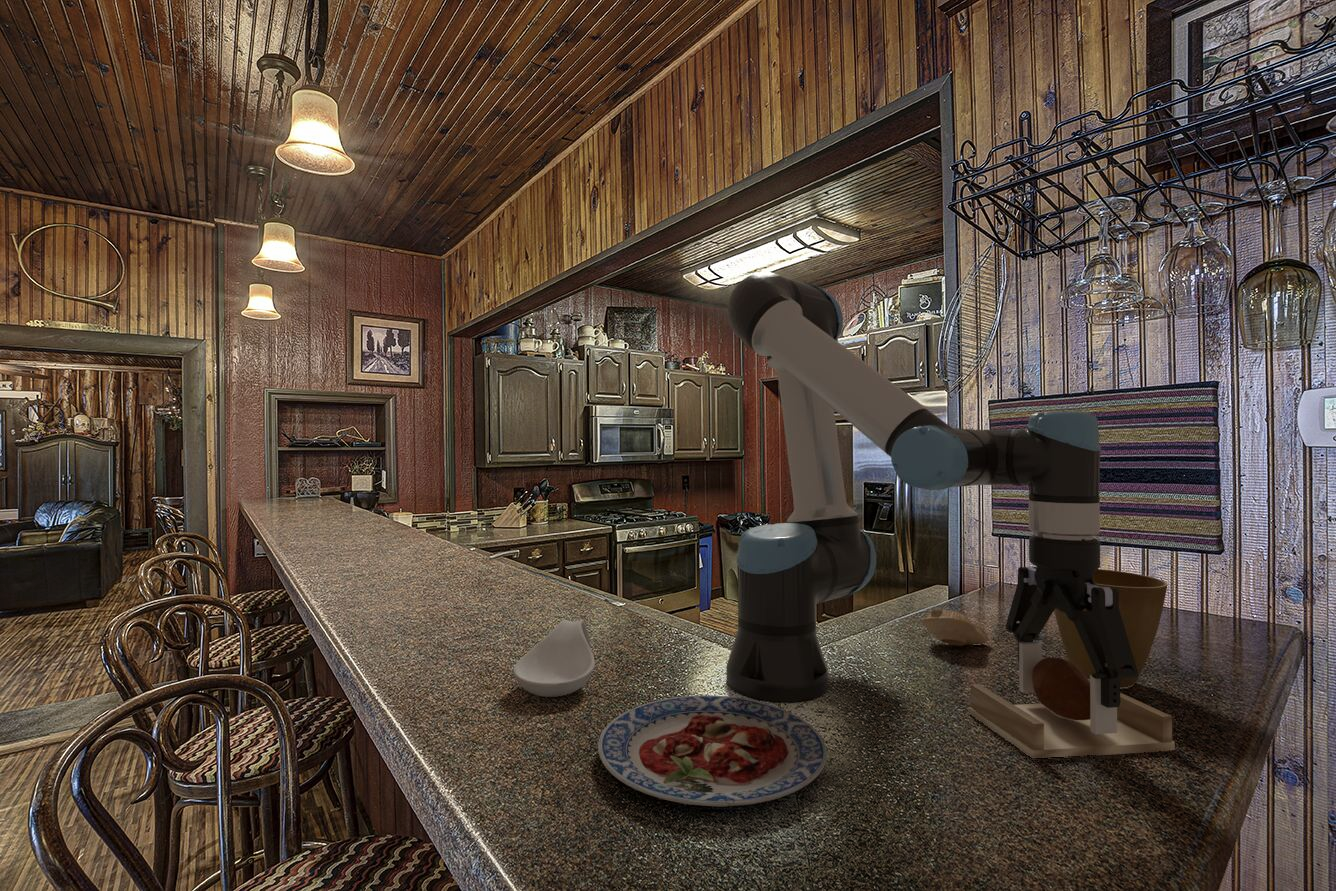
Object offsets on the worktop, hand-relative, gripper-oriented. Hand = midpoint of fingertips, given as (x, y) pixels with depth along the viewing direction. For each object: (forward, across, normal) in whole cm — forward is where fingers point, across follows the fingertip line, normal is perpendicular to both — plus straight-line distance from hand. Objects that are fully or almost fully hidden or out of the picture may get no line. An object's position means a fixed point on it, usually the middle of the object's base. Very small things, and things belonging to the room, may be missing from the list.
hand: (1064, 710), depth 77 cm
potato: (0, 0, 0) cm, 0 cm away
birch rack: (+3, 0, 0) cm, 3 cm away
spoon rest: (+3, +27, +63) cm, 69 cm away
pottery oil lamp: (+3, +33, -6) cm, 33 cm away
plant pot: (+3, +15, -19) cm, 24 cm away
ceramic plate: (+3, -1, +45) cm, 45 cm away
